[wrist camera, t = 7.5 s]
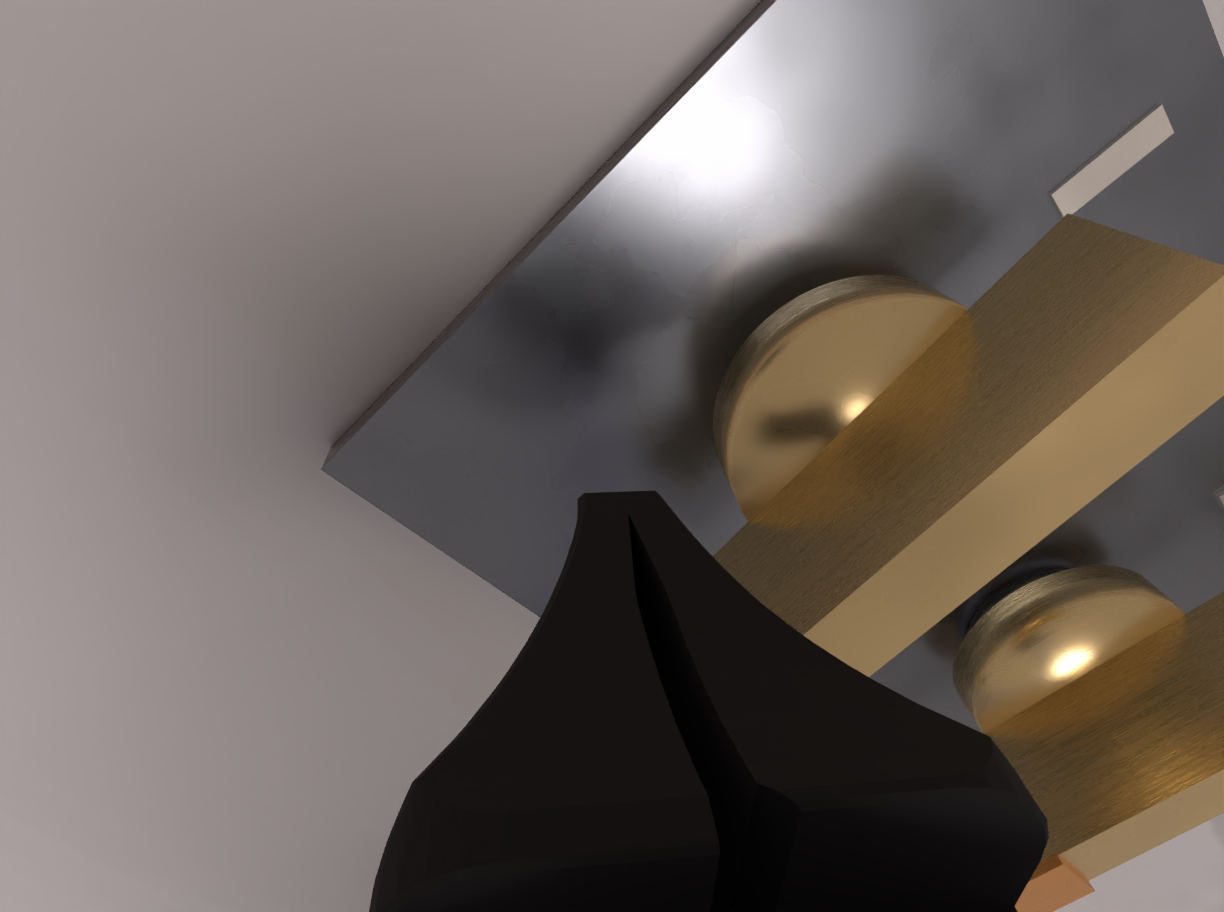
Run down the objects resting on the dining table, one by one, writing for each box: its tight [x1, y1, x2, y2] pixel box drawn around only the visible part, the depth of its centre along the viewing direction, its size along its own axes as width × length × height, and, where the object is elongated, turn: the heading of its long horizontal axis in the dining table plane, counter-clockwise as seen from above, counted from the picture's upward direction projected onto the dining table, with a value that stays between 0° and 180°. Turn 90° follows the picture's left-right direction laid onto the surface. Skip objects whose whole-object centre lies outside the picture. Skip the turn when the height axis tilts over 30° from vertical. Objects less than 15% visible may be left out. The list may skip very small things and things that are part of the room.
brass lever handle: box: [713, 213, 1224, 677], centre depth 13 cm, size 6×10×5 cm, turn 141°
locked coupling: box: [952, 565, 1224, 912], centre depth 18 cm, size 6×10×5 cm, turn 133°
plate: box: [321, 0, 1224, 733], centre depth 18 cm, size 19×22×2 cm
